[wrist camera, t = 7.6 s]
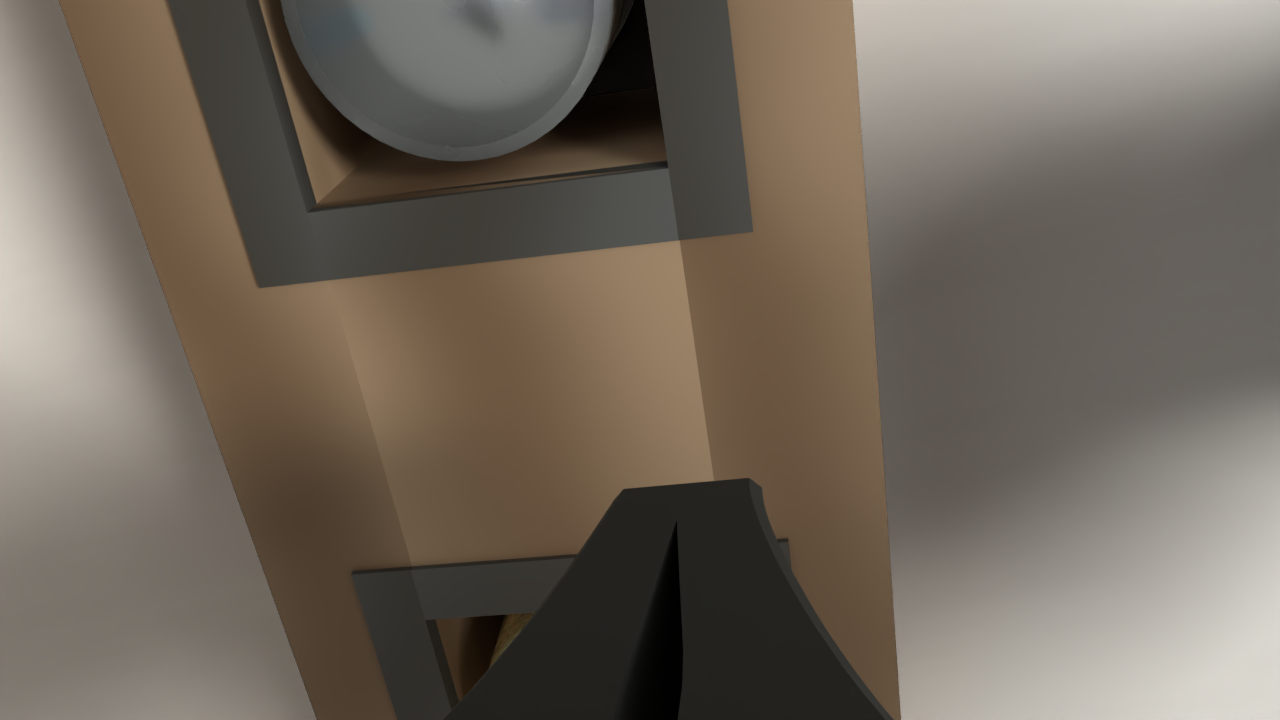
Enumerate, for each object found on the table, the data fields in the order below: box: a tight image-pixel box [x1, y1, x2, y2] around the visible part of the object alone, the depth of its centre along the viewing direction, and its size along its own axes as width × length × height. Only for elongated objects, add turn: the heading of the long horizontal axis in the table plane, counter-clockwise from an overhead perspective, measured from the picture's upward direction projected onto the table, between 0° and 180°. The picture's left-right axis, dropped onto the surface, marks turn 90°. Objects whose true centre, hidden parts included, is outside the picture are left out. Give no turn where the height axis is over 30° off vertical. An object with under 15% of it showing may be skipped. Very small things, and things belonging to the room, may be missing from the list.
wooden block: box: [59, 0, 901, 720], centre depth 19 cm, size 10×24×5 cm, turn 9°
